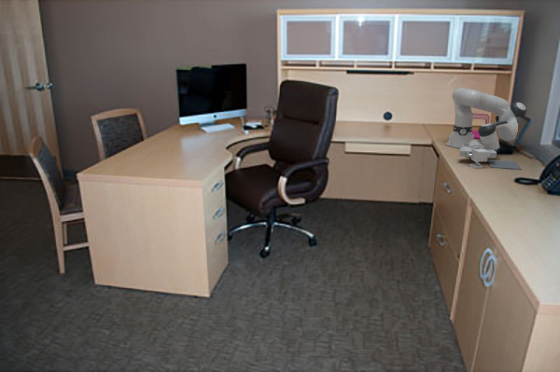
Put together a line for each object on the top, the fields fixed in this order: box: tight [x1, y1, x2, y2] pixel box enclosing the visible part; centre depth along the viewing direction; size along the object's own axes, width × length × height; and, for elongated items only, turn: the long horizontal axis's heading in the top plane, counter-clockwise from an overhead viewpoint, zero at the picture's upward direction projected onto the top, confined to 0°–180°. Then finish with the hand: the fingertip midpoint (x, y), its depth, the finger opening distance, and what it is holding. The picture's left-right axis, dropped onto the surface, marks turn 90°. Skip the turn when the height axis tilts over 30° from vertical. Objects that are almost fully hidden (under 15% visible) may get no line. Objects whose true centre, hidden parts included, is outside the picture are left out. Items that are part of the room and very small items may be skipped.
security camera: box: [469, 149, 488, 169], centre depth 260 cm, size 6×7×10 cm
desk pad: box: [486, 159, 522, 171], centre depth 264 cm, size 16×16×1 cm
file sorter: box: [472, 112, 490, 140], centre depth 339 cm, size 17×25×16 cm
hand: (478, 156), depth 261 cm, fingers open, 8 cm apart
